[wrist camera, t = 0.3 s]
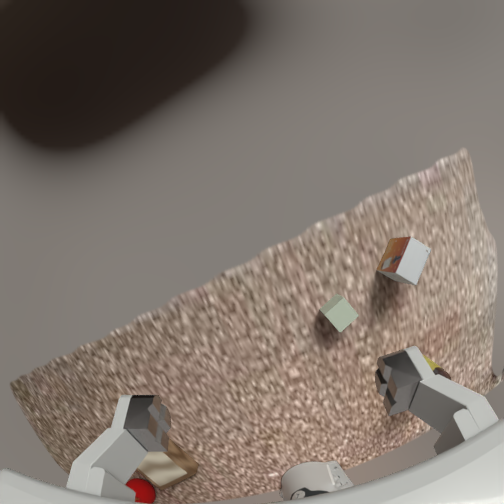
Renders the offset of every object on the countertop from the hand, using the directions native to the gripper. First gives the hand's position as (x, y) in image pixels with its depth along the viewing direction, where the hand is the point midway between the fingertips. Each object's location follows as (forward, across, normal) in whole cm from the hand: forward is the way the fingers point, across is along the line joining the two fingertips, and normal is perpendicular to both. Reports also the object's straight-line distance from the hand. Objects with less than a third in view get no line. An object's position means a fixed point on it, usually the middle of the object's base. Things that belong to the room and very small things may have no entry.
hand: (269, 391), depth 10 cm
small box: (+46, +29, -26) cm, 60 cm away
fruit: (+22, -44, -74) cm, 89 cm away
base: (+27, -34, -63) cm, 77 cm away
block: (+42, +14, -33) cm, 55 cm away
